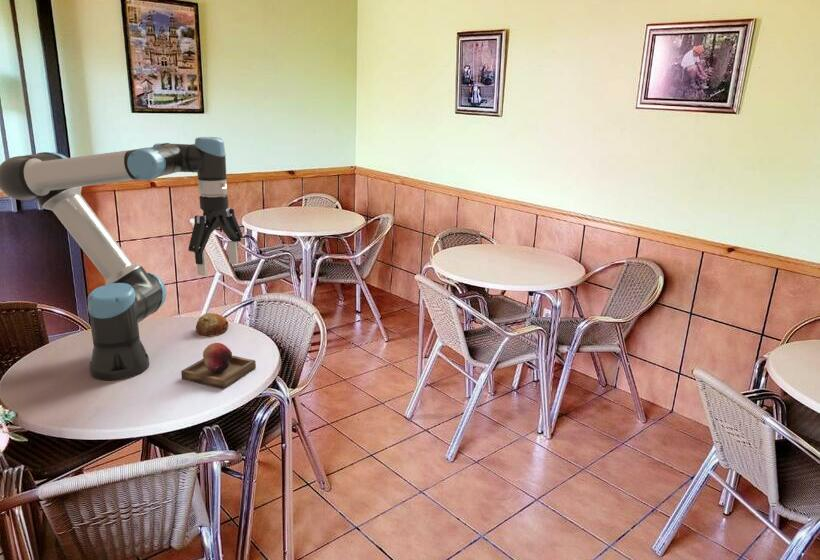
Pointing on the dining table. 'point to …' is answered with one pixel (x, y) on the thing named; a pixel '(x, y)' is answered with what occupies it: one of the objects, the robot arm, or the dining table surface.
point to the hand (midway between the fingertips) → (218, 268)
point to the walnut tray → (219, 373)
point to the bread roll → (211, 325)
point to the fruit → (217, 357)
